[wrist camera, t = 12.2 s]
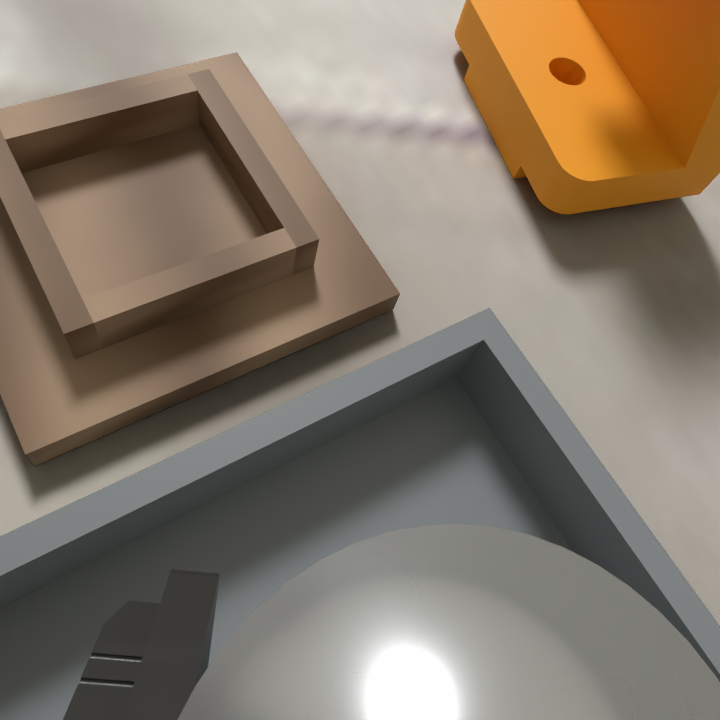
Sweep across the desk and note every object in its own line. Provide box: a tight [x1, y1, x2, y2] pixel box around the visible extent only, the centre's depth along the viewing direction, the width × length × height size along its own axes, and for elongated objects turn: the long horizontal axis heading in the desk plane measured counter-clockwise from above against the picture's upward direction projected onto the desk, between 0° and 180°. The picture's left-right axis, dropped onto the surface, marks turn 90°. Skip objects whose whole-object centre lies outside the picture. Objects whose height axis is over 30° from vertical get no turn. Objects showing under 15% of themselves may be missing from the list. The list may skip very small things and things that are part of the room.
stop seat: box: [0, 52, 400, 466], centre depth 21 cm, size 12×12×2 cm
